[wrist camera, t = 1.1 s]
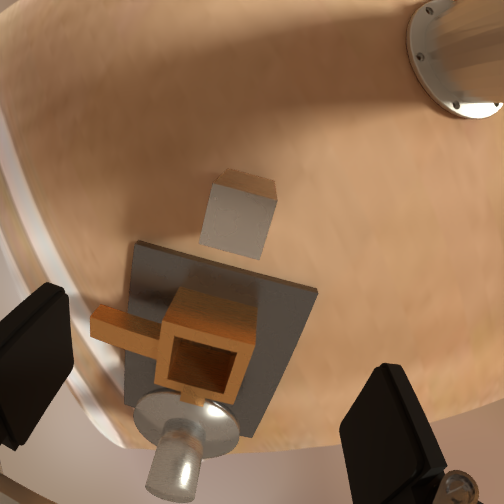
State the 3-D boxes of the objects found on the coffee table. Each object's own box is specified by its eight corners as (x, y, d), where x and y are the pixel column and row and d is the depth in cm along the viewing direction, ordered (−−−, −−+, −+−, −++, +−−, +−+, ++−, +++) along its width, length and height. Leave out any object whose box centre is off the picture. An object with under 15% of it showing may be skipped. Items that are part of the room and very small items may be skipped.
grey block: (229, 166, 27) (212, 183, 19) (274, 178, 28) (277, 200, 19) (218, 209, 29) (198, 243, 21) (261, 221, 29) (259, 260, 21)
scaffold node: (121, 235, 30) (31, 313, 16) (316, 288, 31) (346, 402, 17) (114, 394, 39) (74, 478, 25) (252, 432, 40) (245, 525, 26)
